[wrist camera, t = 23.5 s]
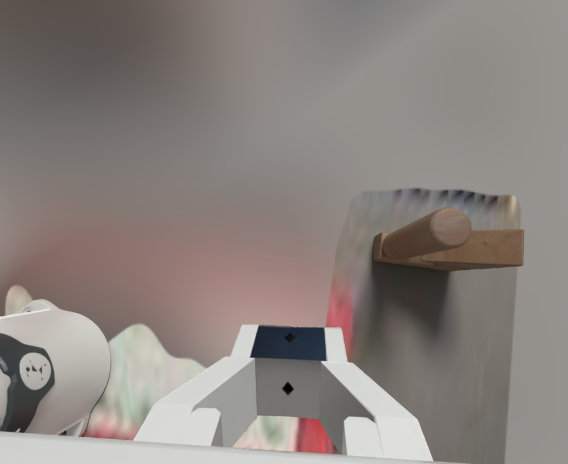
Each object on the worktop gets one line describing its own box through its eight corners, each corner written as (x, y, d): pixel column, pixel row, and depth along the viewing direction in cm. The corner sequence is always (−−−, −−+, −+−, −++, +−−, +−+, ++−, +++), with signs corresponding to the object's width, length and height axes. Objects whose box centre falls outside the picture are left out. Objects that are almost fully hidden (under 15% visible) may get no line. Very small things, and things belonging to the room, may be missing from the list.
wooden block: (449, 271, 44) (558, 263, 26) (371, 261, 44) (426, 246, 27) (451, 245, 45) (558, 220, 27) (374, 235, 45) (429, 203, 27)
